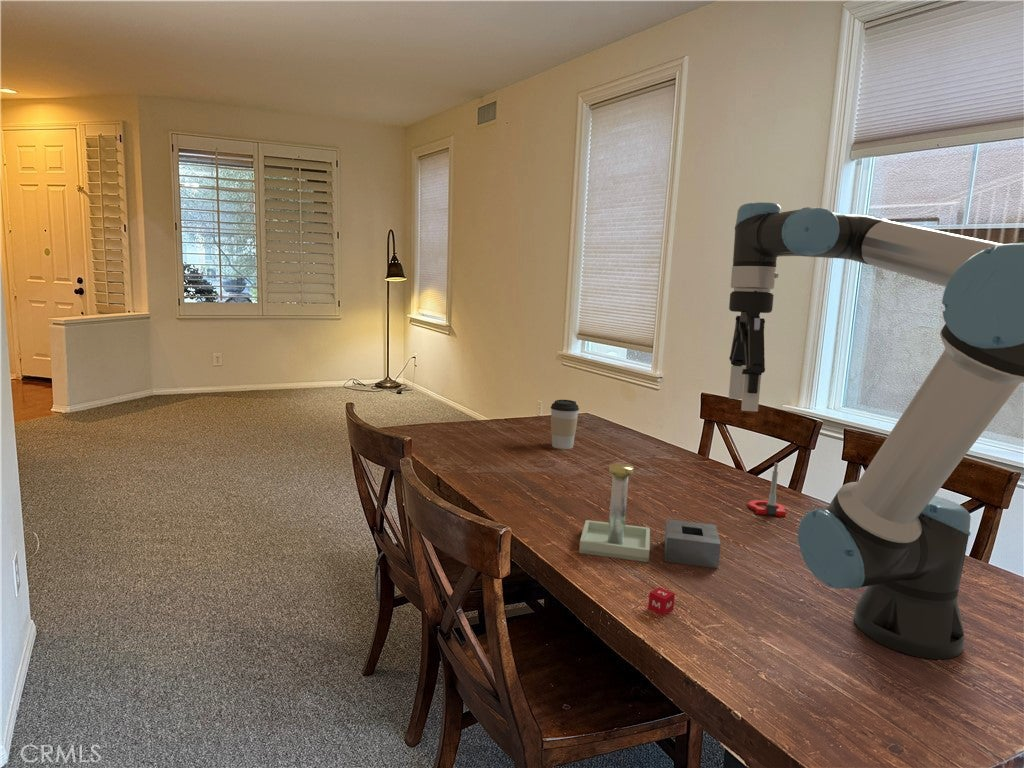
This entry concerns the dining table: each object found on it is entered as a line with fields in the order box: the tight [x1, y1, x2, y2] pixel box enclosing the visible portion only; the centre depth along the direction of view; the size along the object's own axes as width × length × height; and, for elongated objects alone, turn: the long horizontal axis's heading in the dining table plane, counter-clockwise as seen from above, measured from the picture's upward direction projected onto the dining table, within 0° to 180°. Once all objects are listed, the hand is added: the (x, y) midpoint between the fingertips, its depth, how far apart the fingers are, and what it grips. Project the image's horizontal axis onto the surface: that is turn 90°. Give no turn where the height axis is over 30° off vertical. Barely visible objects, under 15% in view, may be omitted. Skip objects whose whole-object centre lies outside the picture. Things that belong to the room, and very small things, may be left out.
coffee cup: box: [550, 399, 580, 450], centre depth 206 cm, size 9×9×15 cm
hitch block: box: [663, 518, 722, 569], centre depth 130 cm, size 10×10×5 cm
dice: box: [647, 586, 676, 616], centre depth 109 cm, size 3×3×3 cm
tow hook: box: [748, 462, 787, 517], centre depth 158 cm, size 8×13×9 cm
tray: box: [578, 519, 651, 563], centre depth 133 cm, size 12×14×2 cm
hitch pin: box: [608, 462, 634, 545], centre depth 132 cm, size 5×5×16 cm
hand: (742, 404), depth 122 cm, fingers open, 13 cm apart
